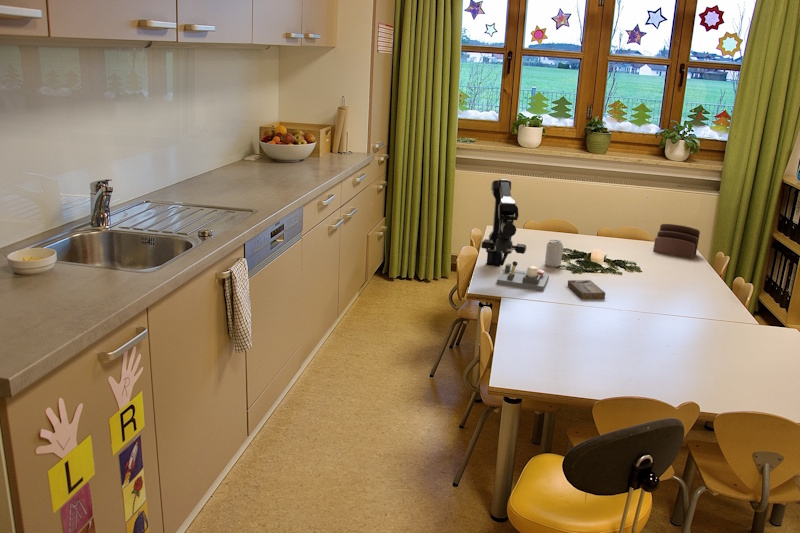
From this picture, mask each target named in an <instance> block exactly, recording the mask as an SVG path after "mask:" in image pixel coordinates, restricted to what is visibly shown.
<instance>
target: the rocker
mask: <svg viewBox="0 0 800 533" xmlns="http://www.w3.org/2000/svg"><path fill="white" fill-rule="evenodd" d="M543 274H545V270H543V269H540V268H538V273H537V275H541V277H542V276H543Z"/></svg>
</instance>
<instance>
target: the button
mask: <svg viewBox="0 0 800 533" xmlns="http://www.w3.org/2000/svg"><path fill="white" fill-rule="evenodd" d="M538 269H539V267H538V266H534V265H533V266H532V265H529V266H527V270H526V271H527V277H529V278H537V273H538Z"/></svg>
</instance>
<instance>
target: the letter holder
mask: <svg viewBox="0 0 800 533" xmlns="http://www.w3.org/2000/svg"><path fill="white" fill-rule="evenodd" d="M700 234H701V232H700V230H699V229H697V228H694V227H689V226H687V225H686V226H685V225H679V224H673V223H661V224H660V227H659V230H658V232H657V235H656V237H655V239H654V244H653V248H652V249H653V250H652V252H655V253H659V254H666V255H671V256H677V257H681V258H682V257H683V258H687V259H694V257H695V256H696V255H697V251H698V246H699V245H698V244H699V239H700Z"/></svg>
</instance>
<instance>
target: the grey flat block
mask: <svg viewBox="0 0 800 533" xmlns="http://www.w3.org/2000/svg"><path fill="white" fill-rule="evenodd" d="M567 287H568V288H570V290H572V292H573V293H574V294H576V295H577V296H578V297H579V298H580V299H581V300H605V299H606V292H605V291H604V290H603V289H601V288H600V287H599V286H598V285H597V284H595V283H594V282H593V281H592V280H591V279H583V280H581V279H579V280H577V279H573V280H572V279H571V280H567Z"/></svg>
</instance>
